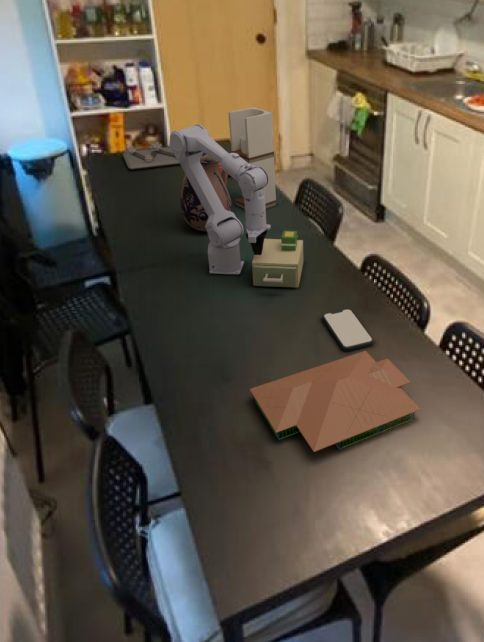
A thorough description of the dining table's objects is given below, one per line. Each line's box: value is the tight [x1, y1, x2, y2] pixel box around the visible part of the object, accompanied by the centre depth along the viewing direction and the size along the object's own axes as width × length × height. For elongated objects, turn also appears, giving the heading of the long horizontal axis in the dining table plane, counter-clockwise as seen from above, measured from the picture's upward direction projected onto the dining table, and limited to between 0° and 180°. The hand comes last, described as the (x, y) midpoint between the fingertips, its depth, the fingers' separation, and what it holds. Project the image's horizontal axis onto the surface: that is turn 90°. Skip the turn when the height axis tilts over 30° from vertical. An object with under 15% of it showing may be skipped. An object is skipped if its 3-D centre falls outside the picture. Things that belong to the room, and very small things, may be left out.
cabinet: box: [251, 238, 304, 289], centre depth 172 cm, size 16×14×8 cm
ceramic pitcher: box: [179, 152, 233, 232], centre depth 196 cm, size 18×21×25 cm
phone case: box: [322, 308, 374, 352], centre depth 149 cm, size 9×2×16 cm
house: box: [249, 350, 421, 453], centre depth 123 cm, size 23×33×8 cm
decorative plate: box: [122, 141, 181, 171], centre depth 256 cm, size 30×22×7 cm
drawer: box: [253, 265, 296, 288], centre depth 169 cm, size 19×12×6 cm, turn 177°
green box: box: [280, 230, 299, 251], centre depth 171 cm, size 7×4×4 cm, turn 177°
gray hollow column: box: [228, 106, 277, 210], centre depth 209 cm, size 11×11×35 cm
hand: (258, 253), depth 165 cm, fingers closed
